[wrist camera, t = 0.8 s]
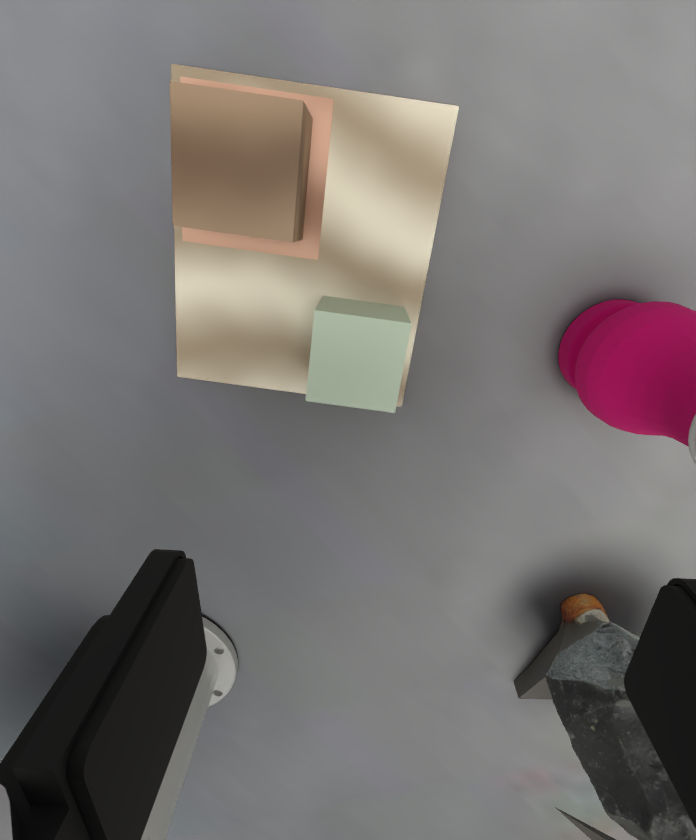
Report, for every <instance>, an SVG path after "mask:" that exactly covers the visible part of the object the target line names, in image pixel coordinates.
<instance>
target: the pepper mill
mask: <svg viewBox="0 0 696 840" xmlns="http://www.w3.org/2000/svg"><path fill="white" fill-rule="evenodd" d="M559 366H560V370H561V372H562V374H563V376H564V378H565V379H566V381H567V382H568V383H569V384H570V385H571V386H572V387H574V388H575V389H576V390H577V392H578V395H579V397H580V399H581V401H582V402H583V404H584V405H585V406H586V408H587V409H588V410H589V411H590V412H591V413H592V414H593V415H595V416H596V417H597V418H599V419H600V420H602V421H604V422H605V423H607V424H608V425H610V426H612V427H615V428H617V429H620V430H624V431H627V432H631V433H635V434H643V435H662V436H667V437H671V438H673V439H675V440H677V441H679V442H681V443H683V444H685V445H687V446H689V450H690V454H691V457H692V459H693V460H694V462H695V464H696V311H694V310H691V309H689V308H686V307H684V306H681V305H679V304H674V303H670V302H646V303H637V302H634V301H630V300H623V299H616V300H609V301H605V302H601V303H599V304H597V305H594V306H592V307H590V308H589V309H587V310H586V311H584V312H583V313H581V314H580V315H579V316H578V317H577V318H576V319H575V320H574V321H573V322H572V323H571V324H570V326H569V327H568V329H567V330H566V332H565V334H564V335H563V338H562V340H561V344H560V347H559Z"/></svg>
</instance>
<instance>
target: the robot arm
mask: <svg viewBox="0 0 696 840" xmlns="http://www.w3.org/2000/svg"><path fill="white" fill-rule="evenodd" d="M237 670H238V659H237V654H236V651H235V649H234V647H233V645H232V643H231V641H230V640H229V639H228V637H227V636H226V635H225V633H224V632H223V631H221V630H220V629H219V628H218V627H217V626H216V625H215V624H213V623H212V622H210V621H209V620H207V619H206V618H204V617H202V613H201V607H200V600H199V594H198V587H197V580H196V574H195V567H194V562H193V560H192V559H189V558H186V556H185V553H184V552H183V551H178V550H160V549H155V550H153V551H152V552H151V553H150V554H149V556H148V557H147V559H146V560H145V562H144V563H143V565H142V566H141V568H140V569H139V571H138V573H137V574H136V576H135V577H134V579H133V580H132V582H131V583H130V585H129V586H128V588H127V590H126V591H125V593H124V594H123V596H122V597H121V599H120V600H119V602H118V604H117V605H116V607H115V608H114V610H113V611H112V613H111V614H110V615H106V616H103V617H101V618H100V619H98V620H97V622H96V623H95V624H94V625H93V626H92V628H91V629H90V631H89V632H88V634H87V635H86V637H85V638H84V640H83V641H82V643H81V644H80V646H79V647H78V649H77V650H76V652H75V653H74V655H73V656H72V658H71V659H70V661H69V662H68V663H67V665H66V666H65V668H64V669H63V671H62V672H61V674H60V675H59V677H58V678H57V680H56V681H55V683H54V684H53V686H52V687H51V689H50V690H49V692H48V693H47V695H46V696H45V698H44V699H43V701H42V702H41V704H40V705H39V707H38V708H37V710H36V711H35V713H34V714H33V716H32V717H31V719H30V720H29V722H28V723H27V725H26V726H25V728H24V729H23V731H22V732H21V734H20V735H19V737H18V738H17V740H16V741H15V743H14V744H13V746H12V747H11V749H10V750H9V752H8V753H7V754H6V756H5V757H4V759H3V760H2V762H1V763H0V840H165V839H166V836H167V833H168V830H169V826H170V823H171V820H172V817H173V814H174V811H175V808H176V805H177V802H178V799H179V796H180V792H181V789H182V786H183V783H184V780H185V777H186V774H187V771H188V768H189V765H190V762H191V758H192V755H193V752H194V749H195V746H196V743H197V740H198V737H199V734H200V731H201V728H202V724H203V721H204V718H205V715H206V712H207V709H208V707H209V706H211V705H213V704H216V703H217V702H218V701H220V700H221V699H223V698H224V697H225V696H226V695H227V694H228V692H229V691H230V690H231V688H232V686H233V684H234V681H235V677H236V674H237ZM624 687H625V691H626V694H627V696H628V698H629V700H630V702H631V704H632V706H633V708H634V710H635V712H636V714H637V716H638V718H639V720H640V722H641V724H642V725H643V727H644V729H645V731H646V733H647V735H648V737H649V739H650V741H651V743H652V745H653V747H654V749H655V751H656V753H657V755H658V757H659V759H660V760H661V762H662V764H663V766H664V768H665V770H666V772H667V774H668V776H669V778H670V780H671V782H672V784H673V786H674V788H675V790H676V792H677V794H678V795H679V797H680V799H681V801H682V803H683V805H684V807H685V809H686V811H687V813H688V815H689V817H690V819H691V821H692V823H693V825H694V827H695V828H696V579H680V578H674V579H672V580H670V581H669V583H668V584H667V585H664V586H663V587H661V589H660V591H659V593H658V596H657V598H656V600H655V603H654V605H653V608H652V610H651V613H650V615H649V617H648V620H647V622H646V625H645V627H644V629H643V632H642V634H641V637H640V639H639V641H638V644H637V646H636V649H635V651H634V653H633V656H632V658H631V661H630V663H629V666H628V668H627V670H626V673H625V676H624Z"/></svg>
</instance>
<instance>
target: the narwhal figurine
mask: <svg viewBox="0 0 696 840" xmlns="http://www.w3.org/2000/svg"><path fill="white" fill-rule="evenodd" d="M560 610H561V612H562V619H561V623H560V627H559V630H558V633H557V634H556V635H555V637H554V638H553V639H552V640H551V641H550V642H549V644H548V645H547V646H546V647H545V648H544V649H543V651H542V652H541V653H540V654H539V655H538V656H537V658H536V659H535V660H534V661H533V662H532V663H531V664H530V665H529V666H528V667H527V668H526V669H525V670H524V671H523V672H522V673H521V674H520V676H519V677H518V678H517V679H516V680H515V681H514V684H515V688H516V691H517V694H518V698H519V699H553V703H554V705H555V707H556V709H557V712H558V715H559V716H560V719H561V721H562V723H563V725H564V727H565V729H566V731H567V733H568V735H569V737H570V740H571V744H572V747H573V749H574V751H575V753H576V755H577V756H578V758H579V760H580V762H581V765H582V767H583V769H584V770H585V772H586V773H587V774H588V776H589V778H590V781H591V783H592V784H593V786H594V788H595V790H596V793H597V795H598V797H599V800H600V801H601V803H602V805H603V807H604V810H605V812H606V813H607V815H608V816H609V817H610V818H611V819H612V820H614V821H615V822H616V823H618V824H619V825H620V826H621V827H623V828H624V830H626V832H627V833H629V834H630V835H631V836H633V837H635V838H637V839H638V840H696V828H695V827H694V825H693V823H692V821H691V819H690V817H689V815H688V813H687V811H686V809H685V807H684V805H683V803H682V801H681V799H680V797H679V795H678V794H677V792H676V790H675V788H674V786H673V784H672V782H671V780H670V778H669V776H668V774H667V772H666V770H665V768H664V766H663V764H662V762H661V760H660V759H659V757H658V755H657V753H656V751H655V749H654V747H653V745H652V743H651V741H650V739H649V737H648V735H647V733H646V731H645V729H644V727H643V725H642V724H641V722H640V720H639V718H638V716H637V714H636V712H635V710H634V708H633V706H632V704H631V702H630V700H629V698H628V696H627V694H626V691H625V687H624V676H625V673H626V670H627V668H628V666H629V663H630V661H631V658H632V656H633V653H634V651H635V649H636V646H637V644H638V641H639V639H640V638H639V637H638V636H636V635H634V634H632V633H631V632H629V631H627V630H625V629H624V628H622V627H620V626H618V625H616V624H614V623H612V622H610V621H609V619H608V616H607V614H606V612H605V610H604V608H603V607H602V605H601V603H600V602H599V601H598V600H597V599H596V598H595V597H594V596H591V595H588V594H578V595H573V596H570V597H568V598H567V599H566V600H564V601H563V602H562V603H561V608H560ZM555 808H556V807H555ZM556 809H557V808H556ZM557 810H559V809H557ZM559 811H560V812H561V813H562V814H563V815H564V816H565V817H567V818H568V819H569V820H570V821H571V822H572V823H573V824H574V825H576V826H577V827H578V828H579V829H580V830H581V831H582V832H584V833H585V834H586V835H587V836H588V837H589V838H590V839H591V840H615V839H614V838H612V837H610V836H608V835H606V834H604V833H602V832H601V831H599V830H597V829H595V828H593V827H591V826H589V825H587V824H586V823H584V822H582V821H580V820H578V819H576V818H574V817H572V816H571V815H569V814H567V813H565V812H563V811H561V810H559Z"/></svg>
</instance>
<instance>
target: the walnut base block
mask: <svg viewBox="0 0 696 840" xmlns="http://www.w3.org/2000/svg"><path fill="white" fill-rule="evenodd" d="M170 111H171V159H172V208H173V226H178V227H185V228H192V229H199V230H206V231H214V232H221V233H228V234H235V235H242V236H249V237H256V238H263V239H270V240H277V241H285V242H292V243H293V242H296V241H300V240H303V230H304V218H305V206H306V194H307V182H308V170H309V159H310V147H311V135H312V123H313V118H312V116H311V114H310V112H309V110H308V108H307V106H306V104H305V103H304V101H303V100H296V99H289V98H282V97H276V96H269V95H262V94H255V93H248V92H242V91H235V90H228V89H221V88H214V87H208V86H201V85H194V84H187V83H180V82H174V81H170Z"/></svg>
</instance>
